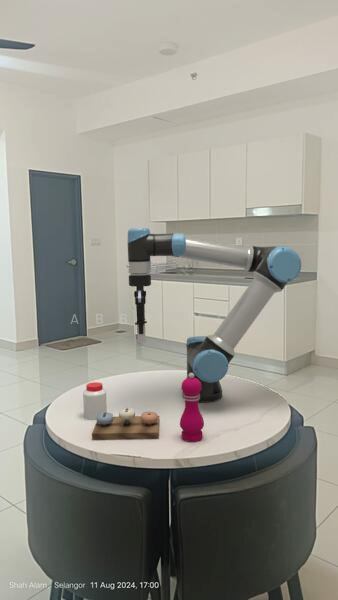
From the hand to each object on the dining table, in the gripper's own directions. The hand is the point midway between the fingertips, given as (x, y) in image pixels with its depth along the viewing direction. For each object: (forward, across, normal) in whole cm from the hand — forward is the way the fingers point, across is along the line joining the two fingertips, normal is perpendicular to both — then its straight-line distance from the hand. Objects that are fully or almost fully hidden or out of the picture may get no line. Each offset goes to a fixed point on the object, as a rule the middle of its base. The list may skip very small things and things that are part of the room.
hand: (141, 342), depth 167 cm
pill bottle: (+25, +4, -16) cm, 30 cm away
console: (+24, +17, -4) cm, 30 cm away
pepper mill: (+25, +24, +16) cm, 38 cm away
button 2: (+22, +17, -4) cm, 28 cm away
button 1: (+23, +17, +3) cm, 29 cm away
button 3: (+23, +17, -11) cm, 31 cm away
